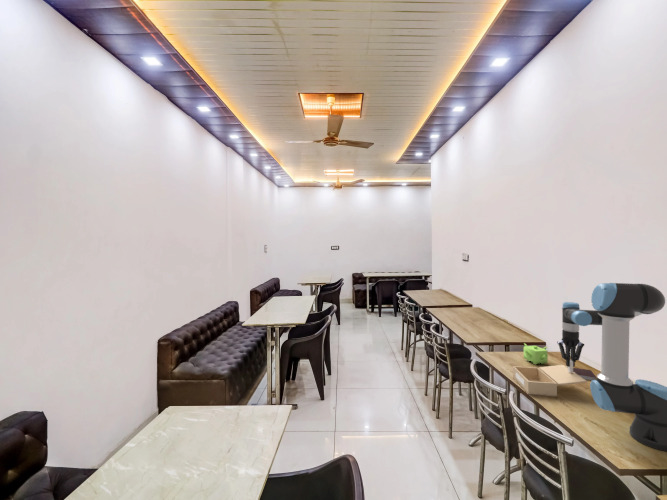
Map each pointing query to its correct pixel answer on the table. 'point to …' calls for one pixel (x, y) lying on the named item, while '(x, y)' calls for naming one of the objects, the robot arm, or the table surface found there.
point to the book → (584, 373)
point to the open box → (535, 381)
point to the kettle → (535, 354)
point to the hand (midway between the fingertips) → (570, 372)
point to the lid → (562, 375)
